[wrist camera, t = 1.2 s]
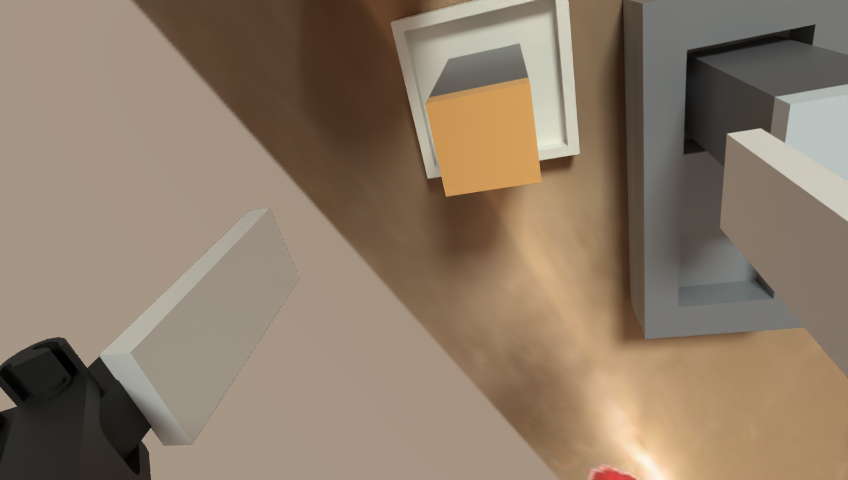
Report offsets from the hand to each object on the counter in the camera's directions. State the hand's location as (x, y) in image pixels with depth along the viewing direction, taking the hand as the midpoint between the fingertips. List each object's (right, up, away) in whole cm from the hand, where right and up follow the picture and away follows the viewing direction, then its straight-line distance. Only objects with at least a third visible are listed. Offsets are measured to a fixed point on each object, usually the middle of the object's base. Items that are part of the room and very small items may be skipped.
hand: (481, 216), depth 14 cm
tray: (+2, +8, +14) cm, 16 cm away
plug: (+2, +8, +13) cm, 16 cm away
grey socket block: (+15, +4, +14) cm, 21 cm away
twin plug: (+14, +7, +10) cm, 19 cm away
